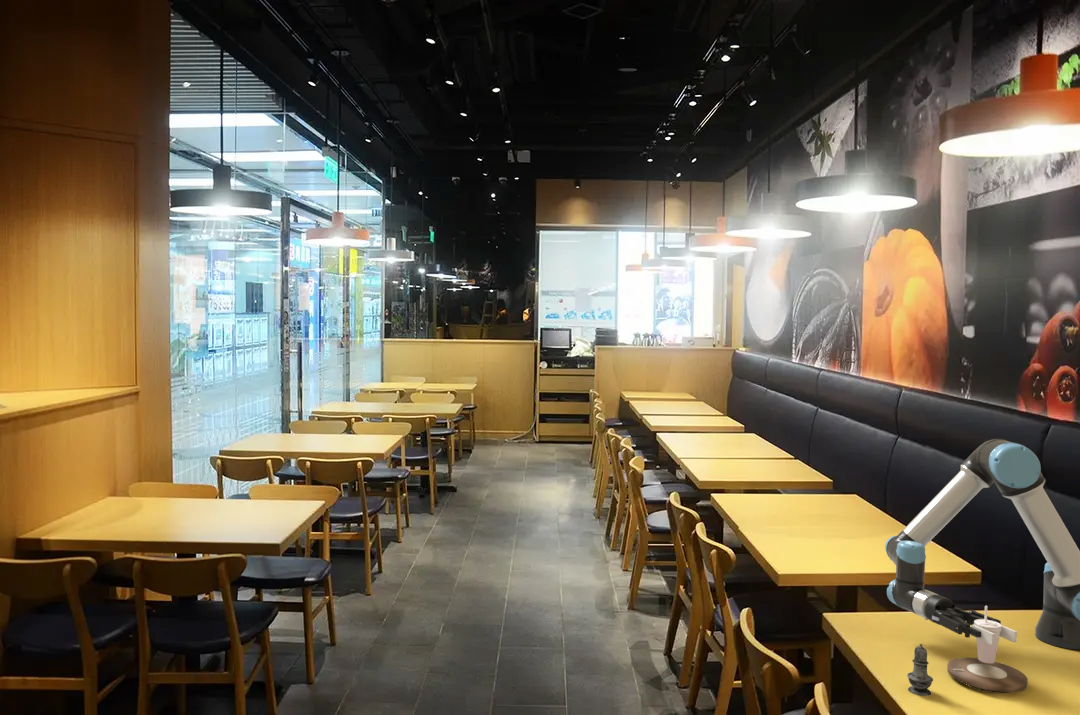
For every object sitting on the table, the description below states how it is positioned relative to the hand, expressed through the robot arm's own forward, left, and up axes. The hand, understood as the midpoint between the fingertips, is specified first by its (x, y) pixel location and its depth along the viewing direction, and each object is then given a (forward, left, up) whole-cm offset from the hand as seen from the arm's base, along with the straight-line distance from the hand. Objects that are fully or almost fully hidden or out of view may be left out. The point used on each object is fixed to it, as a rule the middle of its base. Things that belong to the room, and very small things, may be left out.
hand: (1004, 638), depth 201 cm
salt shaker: (+22, +3, -13) cm, 26 cm away
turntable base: (+2, -5, -13) cm, 14 cm away
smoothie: (+2, -5, -8) cm, 9 cm away
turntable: (+2, -5, -12) cm, 13 cm away
